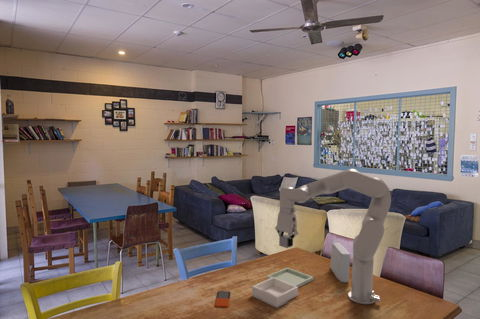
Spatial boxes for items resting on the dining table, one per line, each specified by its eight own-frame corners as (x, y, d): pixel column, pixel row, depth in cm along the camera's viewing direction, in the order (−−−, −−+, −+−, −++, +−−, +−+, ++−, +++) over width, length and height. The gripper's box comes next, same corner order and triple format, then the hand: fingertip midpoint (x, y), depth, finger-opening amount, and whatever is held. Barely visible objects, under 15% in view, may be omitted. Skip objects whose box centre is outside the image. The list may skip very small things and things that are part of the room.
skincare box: (349, 282, 179) (350, 254, 178) (339, 282, 179) (340, 254, 178) (339, 267, 200) (339, 242, 199) (330, 267, 200) (330, 241, 199)
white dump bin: (297, 296, 162) (298, 287, 162) (277, 308, 151) (277, 297, 151) (273, 286, 174) (273, 276, 173) (252, 295, 162) (252, 286, 162)
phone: (214, 305, 151) (217, 290, 166) (214, 308, 151) (217, 293, 166) (228, 306, 151) (230, 291, 166) (228, 308, 151) (230, 293, 166)
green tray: (313, 281, 180) (313, 276, 180) (293, 291, 168) (293, 286, 168) (287, 271, 193) (287, 267, 193) (266, 280, 181) (266, 275, 180)
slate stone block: (292, 246, 173) (293, 236, 172) (286, 248, 169) (286, 238, 169) (285, 243, 176) (285, 234, 176) (279, 245, 173) (279, 236, 173)
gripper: (304, 212, 168) (303, 247, 169) (279, 206, 180) (278, 239, 182) (295, 214, 163) (294, 250, 164) (269, 208, 175) (269, 242, 177)
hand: (286, 244), depth 173 cm, fingers closed on slate stone block, 5 cm apart
